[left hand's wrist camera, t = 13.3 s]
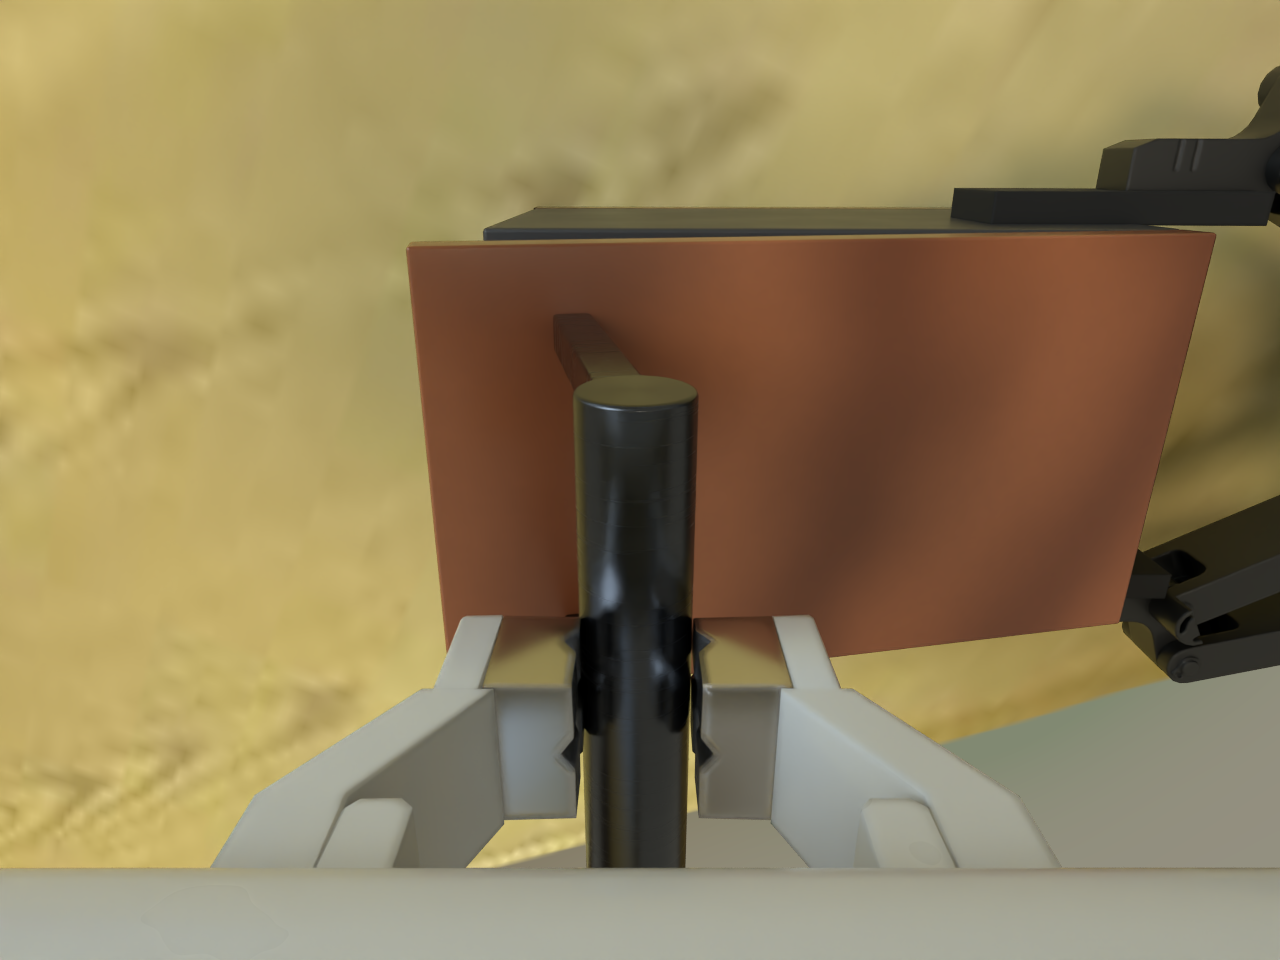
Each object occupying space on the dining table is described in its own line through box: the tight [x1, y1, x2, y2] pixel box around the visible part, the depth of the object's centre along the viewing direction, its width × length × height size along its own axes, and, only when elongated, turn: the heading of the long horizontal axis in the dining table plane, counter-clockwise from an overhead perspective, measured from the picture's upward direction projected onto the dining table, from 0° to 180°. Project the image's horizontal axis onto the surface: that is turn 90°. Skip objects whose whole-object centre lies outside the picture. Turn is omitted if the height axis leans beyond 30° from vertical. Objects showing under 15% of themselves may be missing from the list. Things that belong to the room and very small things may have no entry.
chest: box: [483, 207, 1179, 241], centre depth 24 cm, size 15×9×10 cm, turn 90°
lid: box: [406, 230, 1216, 868], centre depth 14 cm, size 16×9×8 cm, turn 90°
